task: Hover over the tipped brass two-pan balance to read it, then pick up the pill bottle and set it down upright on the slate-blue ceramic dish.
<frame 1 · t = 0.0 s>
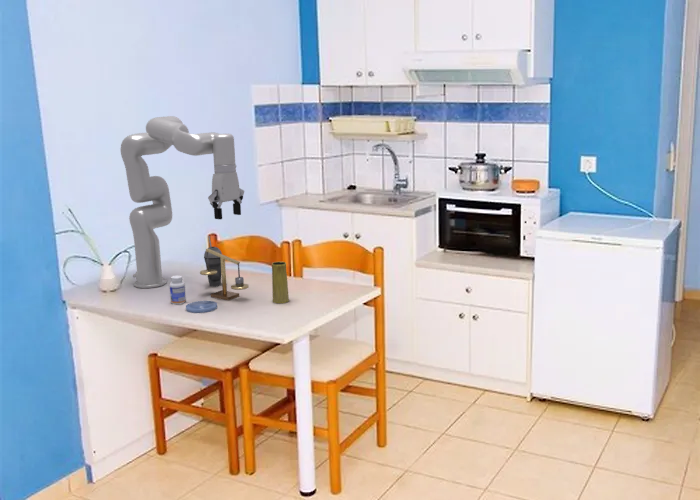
hand: (228, 216, 275), 31 cm above the table, tool pointing down, fingers open, 9 cm apart
pill bottle: (178, 302, 281), on the table
vase: (280, 301, 279), on the table
dish: (201, 308, 273), on the table
balance: (225, 296, 287), on the table
beverage cup: (215, 285, 303), on the table
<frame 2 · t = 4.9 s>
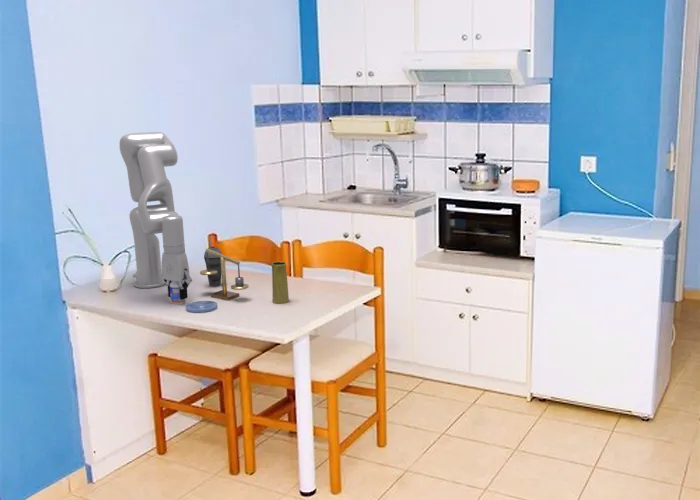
hand: (178, 297, 281), 2 cm above the table, tool pointing down, fingers closed on pill bottle, 5 cm apart
pill bottle: (178, 302, 281), on the table, touching gripper
everything else where it was.
when the fingers open (4 cm above the table, at t = 10.3 s): pill bottle stays where it is, resting on dish.
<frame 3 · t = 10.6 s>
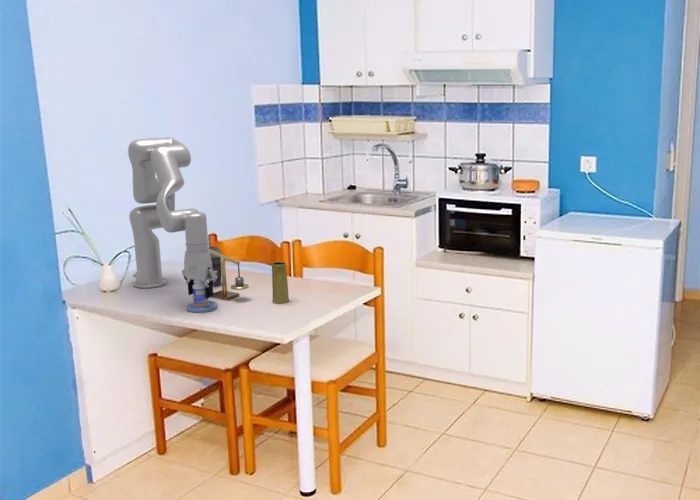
hand: (200, 295, 272), 5 cm above the table, tool pointing down, fingers open, 8 cm apart
pill bottle: (201, 305, 273), point 1 cm above the table, touching dish
everything else where it was.
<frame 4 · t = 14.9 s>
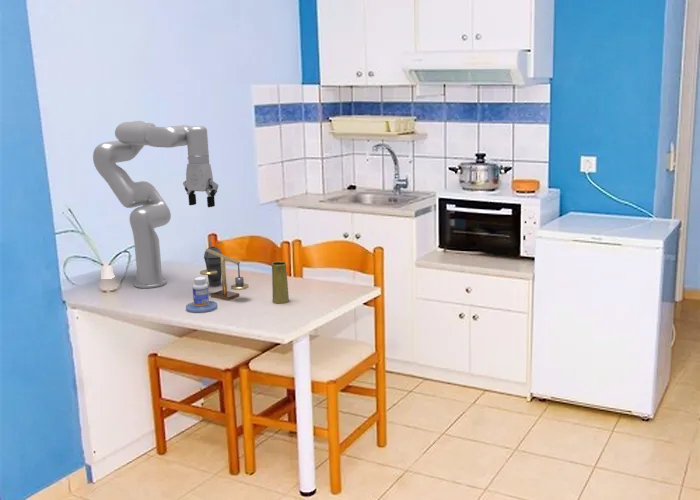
hand: (201, 205, 287), 33 cm above the table, tool pointing down, fingers open, 9 cm apart
nothing on the table moved.
at the end: pill bottle 0.1 cm from the dish (horizontally); pill bottle tilted 0°; pill bottle touching dish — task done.
